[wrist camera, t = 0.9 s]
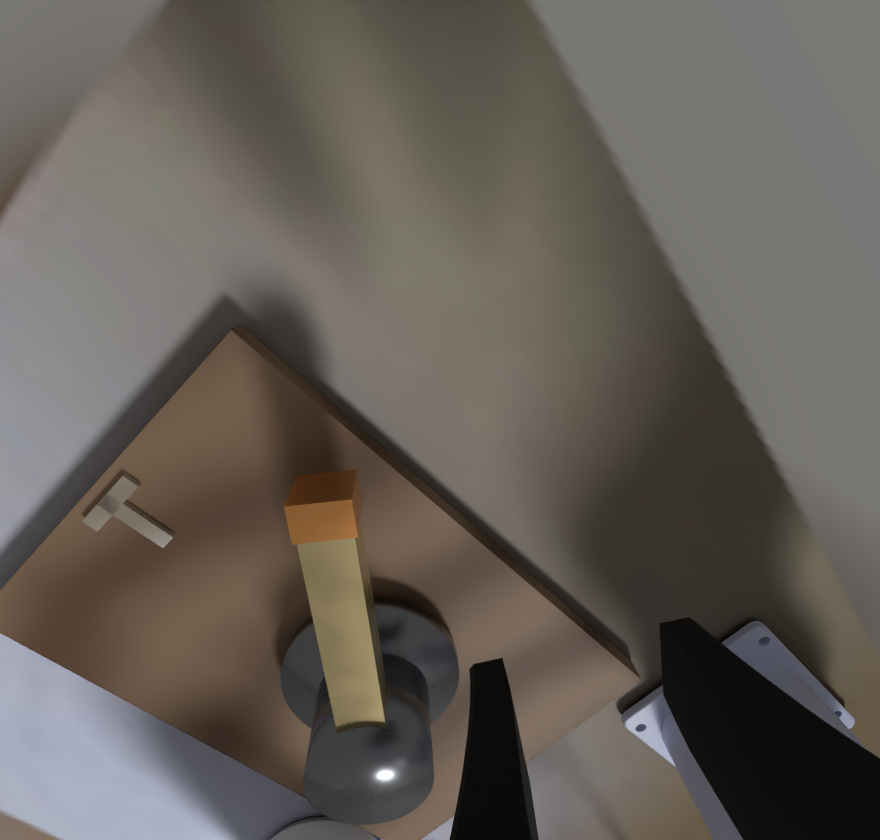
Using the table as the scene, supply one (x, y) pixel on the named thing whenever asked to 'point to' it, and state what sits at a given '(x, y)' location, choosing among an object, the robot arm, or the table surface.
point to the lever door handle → (360, 666)
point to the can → (322, 830)
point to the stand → (283, 580)
